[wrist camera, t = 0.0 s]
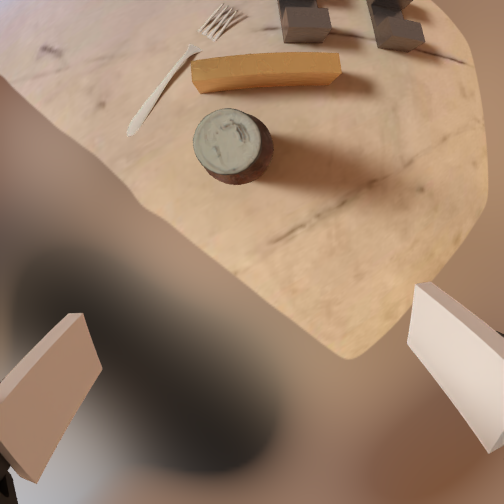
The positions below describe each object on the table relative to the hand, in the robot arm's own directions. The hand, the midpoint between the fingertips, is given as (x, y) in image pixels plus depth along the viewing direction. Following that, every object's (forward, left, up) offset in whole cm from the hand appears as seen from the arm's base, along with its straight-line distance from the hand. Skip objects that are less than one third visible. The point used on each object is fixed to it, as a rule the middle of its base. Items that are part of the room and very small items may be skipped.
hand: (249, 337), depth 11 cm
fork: (-19, -8, -29) cm, 35 cm away
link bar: (-17, +4, -28) cm, 33 cm away
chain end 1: (-27, +9, -28) cm, 40 cm away
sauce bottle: (-8, 0, -28) cm, 29 cm away
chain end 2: (-27, +22, -28) cm, 45 cm away
